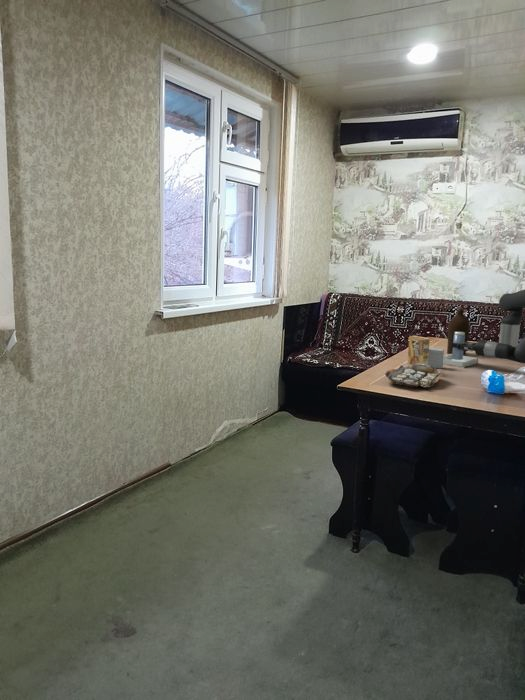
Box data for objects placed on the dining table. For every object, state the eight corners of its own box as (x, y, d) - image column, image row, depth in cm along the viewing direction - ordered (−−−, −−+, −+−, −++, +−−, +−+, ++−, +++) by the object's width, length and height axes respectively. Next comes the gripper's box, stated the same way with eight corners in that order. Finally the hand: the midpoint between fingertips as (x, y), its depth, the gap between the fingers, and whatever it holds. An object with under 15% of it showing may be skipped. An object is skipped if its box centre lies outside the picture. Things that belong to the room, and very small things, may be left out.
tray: (450, 358, 270) (451, 353, 269) (477, 363, 260) (478, 358, 259) (435, 362, 259) (436, 357, 258) (463, 367, 249) (463, 362, 248)
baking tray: (433, 395, 202) (435, 381, 200) (378, 386, 212) (379, 373, 210) (447, 379, 227) (448, 366, 226) (397, 371, 237) (398, 360, 236)
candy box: (427, 371, 239) (430, 338, 236) (421, 372, 237) (424, 338, 234) (412, 367, 247) (415, 335, 244) (406, 368, 244) (408, 335, 241)
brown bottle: (452, 356, 277) (457, 308, 272) (442, 352, 287) (446, 306, 282) (470, 355, 279) (475, 308, 274) (459, 351, 289) (463, 306, 284)
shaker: (454, 357, 262) (457, 331, 260) (464, 358, 259) (467, 332, 256) (450, 358, 259) (452, 332, 256) (460, 360, 255) (462, 333, 253)
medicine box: (442, 367, 249) (444, 349, 248) (441, 369, 245) (443, 350, 244) (425, 365, 252) (427, 347, 251) (424, 367, 248) (425, 349, 247)
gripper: (494, 339, 252) (460, 335, 264) (482, 342, 242) (447, 338, 254) (493, 354, 253) (459, 349, 265) (480, 358, 243) (445, 353, 255)
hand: (453, 344), depth 259 cm, fingers closed on shaker, 5 cm apart
